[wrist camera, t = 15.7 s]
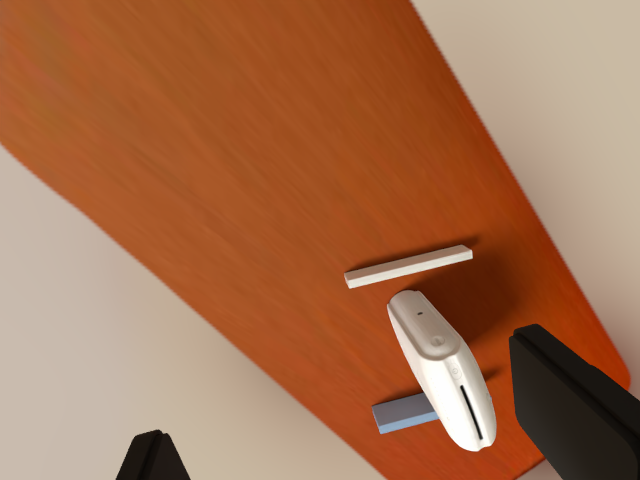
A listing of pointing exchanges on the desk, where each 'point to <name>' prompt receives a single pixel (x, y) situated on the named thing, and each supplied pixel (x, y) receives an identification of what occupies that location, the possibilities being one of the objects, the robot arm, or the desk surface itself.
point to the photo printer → (444, 370)
